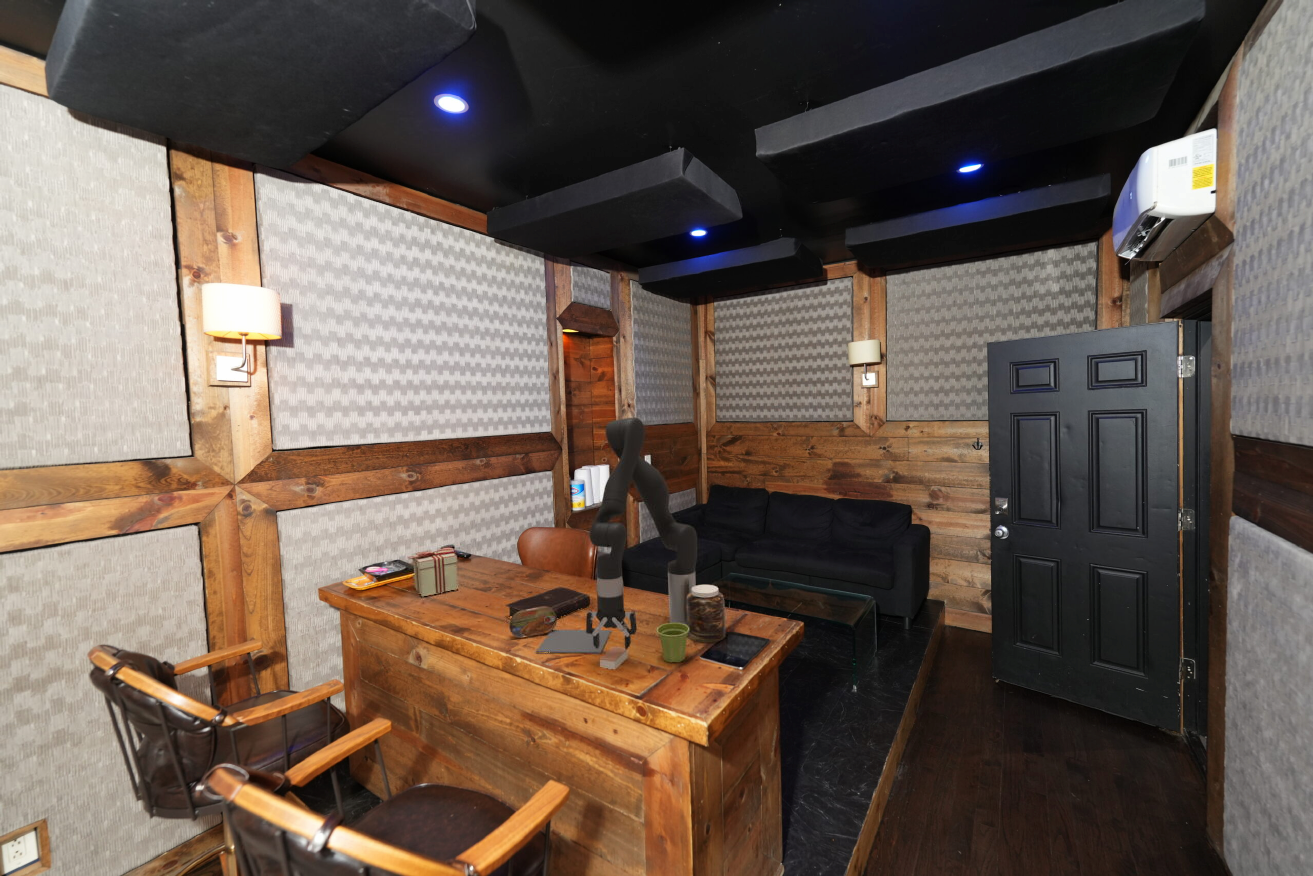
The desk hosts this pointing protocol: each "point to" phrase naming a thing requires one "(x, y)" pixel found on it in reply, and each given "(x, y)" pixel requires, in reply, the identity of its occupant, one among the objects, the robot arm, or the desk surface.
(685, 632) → the plant pot
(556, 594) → the diary
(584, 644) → the mat
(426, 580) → the gift box
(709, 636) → the jar
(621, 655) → the block
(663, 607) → the desk surface
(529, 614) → the tin
